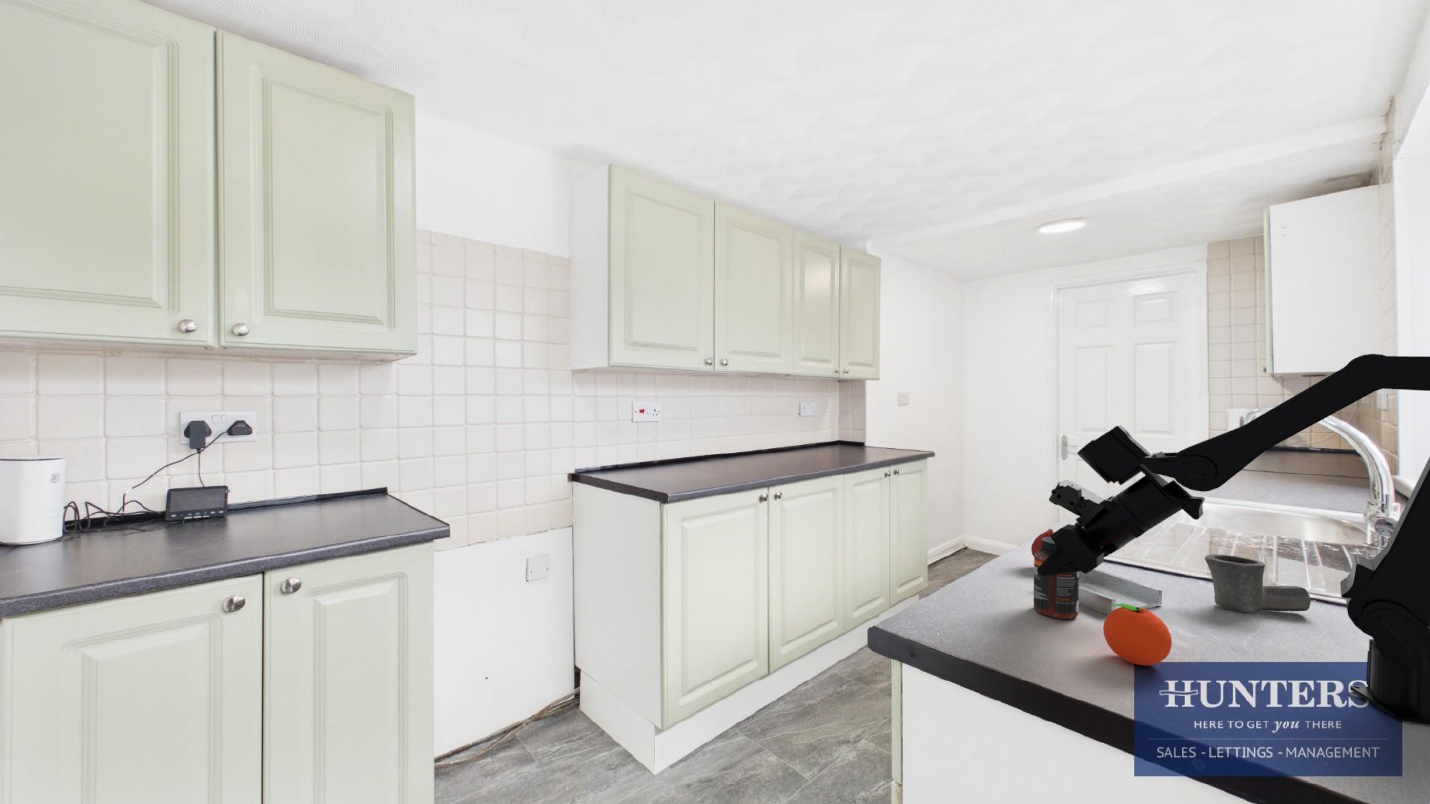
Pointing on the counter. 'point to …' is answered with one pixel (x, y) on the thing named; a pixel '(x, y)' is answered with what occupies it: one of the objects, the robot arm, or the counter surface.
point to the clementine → (1137, 635)
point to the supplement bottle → (1055, 588)
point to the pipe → (1251, 587)
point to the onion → (1040, 541)
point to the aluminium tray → (1115, 592)
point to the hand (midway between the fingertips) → (1046, 568)
